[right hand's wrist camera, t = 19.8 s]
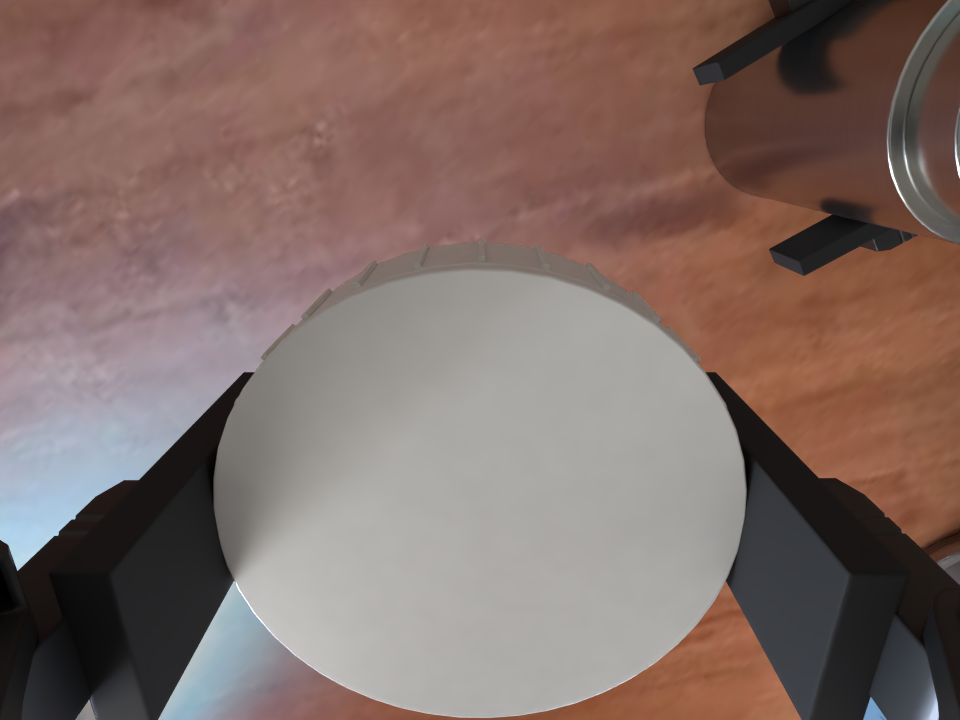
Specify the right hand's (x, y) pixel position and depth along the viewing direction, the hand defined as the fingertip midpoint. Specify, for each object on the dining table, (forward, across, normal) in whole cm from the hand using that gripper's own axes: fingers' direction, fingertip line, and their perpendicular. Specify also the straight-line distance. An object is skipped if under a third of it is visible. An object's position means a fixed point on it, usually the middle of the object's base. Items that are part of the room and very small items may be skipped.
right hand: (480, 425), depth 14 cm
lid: (-3, 0, 0) cm, 3 cm away
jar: (+20, -16, -7) cm, 27 cm away
